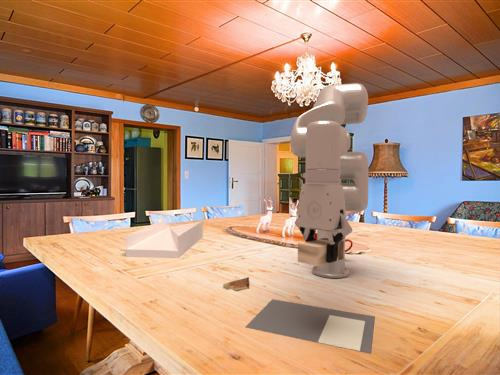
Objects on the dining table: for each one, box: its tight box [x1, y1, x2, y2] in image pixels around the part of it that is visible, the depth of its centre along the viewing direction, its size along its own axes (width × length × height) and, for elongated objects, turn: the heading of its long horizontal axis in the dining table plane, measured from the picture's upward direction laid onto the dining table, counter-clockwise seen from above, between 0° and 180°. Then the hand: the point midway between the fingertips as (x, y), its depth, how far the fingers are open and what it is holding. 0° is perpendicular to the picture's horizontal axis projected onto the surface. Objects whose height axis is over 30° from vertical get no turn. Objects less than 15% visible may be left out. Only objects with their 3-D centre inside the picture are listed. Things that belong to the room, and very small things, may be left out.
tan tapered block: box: [297, 238, 344, 267], centre depth 73 cm, size 10×5×4 cm, turn 131°
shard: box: [222, 276, 251, 292], centre depth 100 cm, size 11×8×2 cm
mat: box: [245, 298, 376, 355], centre depth 75 cm, size 18×26×1 cm
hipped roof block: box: [125, 220, 204, 259], centre depth 156 cm, size 45×22×10 cm, turn 176°
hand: (321, 258), depth 73 cm, fingers closed on tan tapered block, 5 cm apart
